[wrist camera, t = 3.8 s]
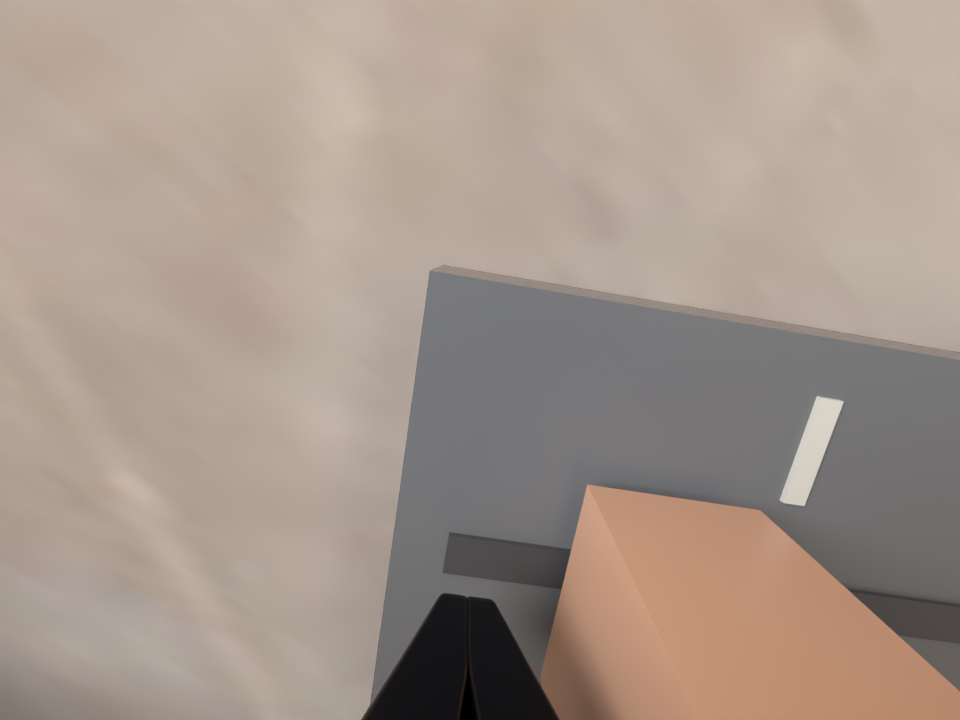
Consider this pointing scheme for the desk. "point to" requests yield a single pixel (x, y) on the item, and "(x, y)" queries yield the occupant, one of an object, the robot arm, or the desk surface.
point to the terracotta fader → (719, 624)
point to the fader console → (667, 450)
